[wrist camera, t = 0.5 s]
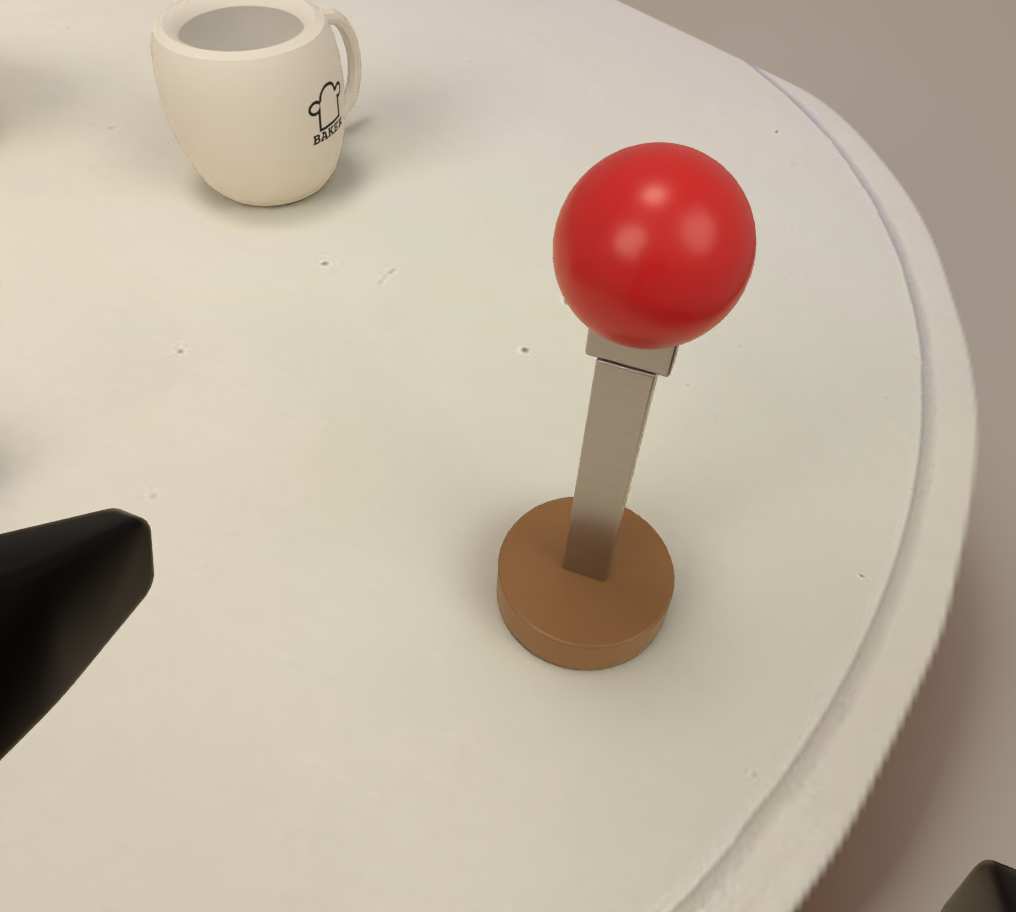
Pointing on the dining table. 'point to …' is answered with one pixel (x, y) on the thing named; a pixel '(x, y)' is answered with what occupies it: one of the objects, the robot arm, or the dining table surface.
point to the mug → (256, 93)
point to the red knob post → (623, 392)
